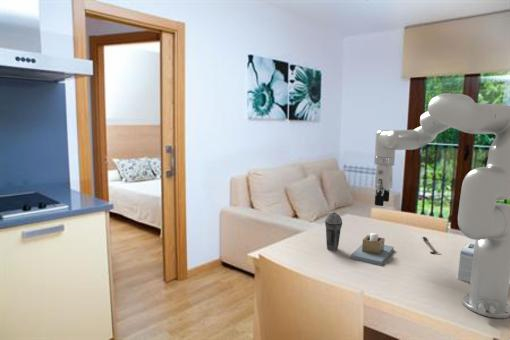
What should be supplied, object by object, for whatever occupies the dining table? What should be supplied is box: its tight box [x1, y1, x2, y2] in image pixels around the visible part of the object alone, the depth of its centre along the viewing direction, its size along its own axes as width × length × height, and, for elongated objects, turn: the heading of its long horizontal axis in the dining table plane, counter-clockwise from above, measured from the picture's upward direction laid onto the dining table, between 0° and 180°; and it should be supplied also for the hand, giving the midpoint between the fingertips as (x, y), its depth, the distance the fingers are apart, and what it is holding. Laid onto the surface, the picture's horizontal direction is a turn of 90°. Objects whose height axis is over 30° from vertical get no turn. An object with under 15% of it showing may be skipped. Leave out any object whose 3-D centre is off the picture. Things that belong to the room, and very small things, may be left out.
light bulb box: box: [457, 242, 475, 283], centre depth 128 cm, size 11×7×11 cm, turn 141°
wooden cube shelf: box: [361, 234, 386, 255], centre depth 149 cm, size 7×7×5 cm
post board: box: [350, 232, 394, 266], centre depth 149 cm, size 20×12×8 cm, turn 147°
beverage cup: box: [324, 202, 343, 252], centre depth 153 cm, size 7×7×20 cm
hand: (381, 203), depth 146 cm, fingers open, 9 cm apart
